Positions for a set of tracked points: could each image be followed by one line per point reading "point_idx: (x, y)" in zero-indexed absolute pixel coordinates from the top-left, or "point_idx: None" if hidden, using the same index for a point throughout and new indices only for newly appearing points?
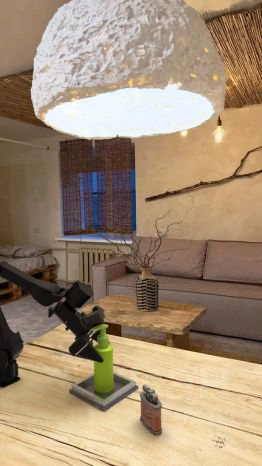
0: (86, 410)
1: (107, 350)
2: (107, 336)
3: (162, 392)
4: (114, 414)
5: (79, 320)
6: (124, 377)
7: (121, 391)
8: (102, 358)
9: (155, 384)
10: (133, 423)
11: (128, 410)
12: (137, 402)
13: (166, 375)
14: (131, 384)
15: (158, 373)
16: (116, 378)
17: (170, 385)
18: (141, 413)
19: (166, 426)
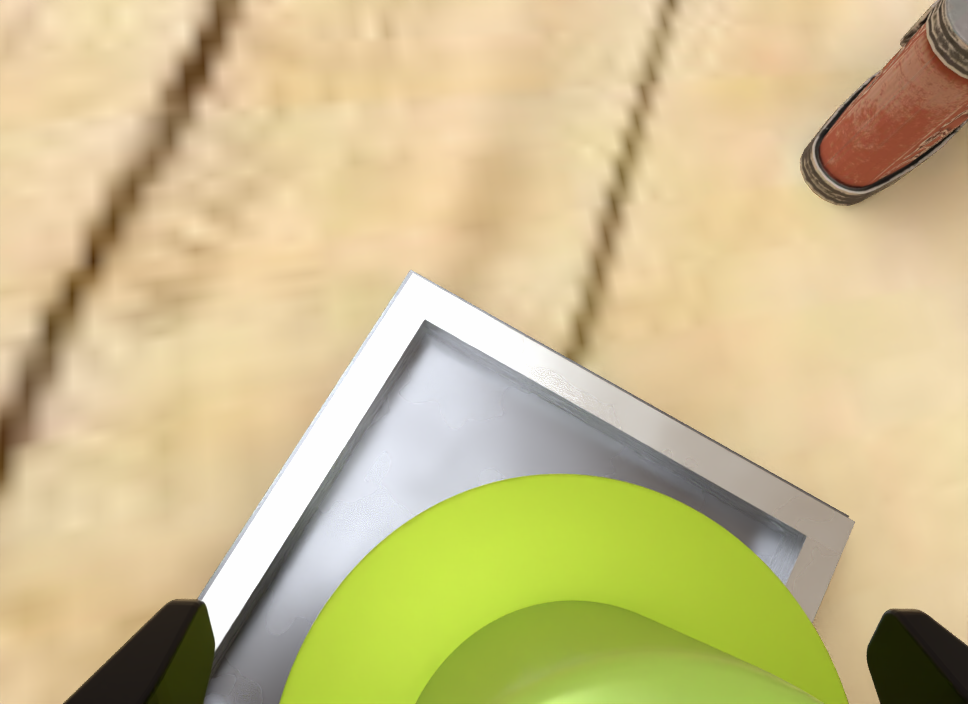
0: (860, 699)
1: (763, 578)
2: (709, 701)
3: (445, 76)
4: (841, 417)
5: None
6: (342, 409)
7: (617, 389)
8: (932, 647)
9: (323, 139)
10: (904, 247)
11: (757, 312)
12: (630, 256)
13: (153, 58)
14: (476, 309)
15: (116, 128)
16: (308, 516)
17: (326, 21)
18: (905, 159)
19: (864, 28)
